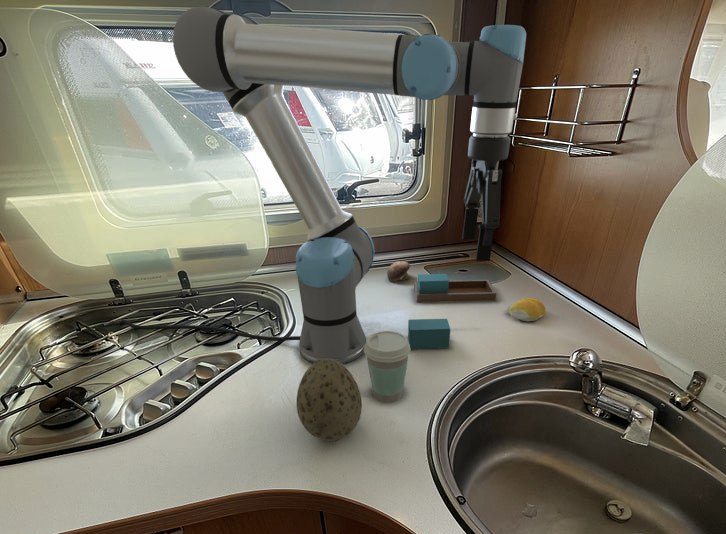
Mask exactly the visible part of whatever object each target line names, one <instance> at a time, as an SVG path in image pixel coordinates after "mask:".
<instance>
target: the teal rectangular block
mask: <svg viewBox="0 0 726 534" xmlns="http://www.w3.org/2000/svg"><path fill="white" fill-rule="evenodd" d="M407 322H408V323H407V325H408V326H407V327H408V328H407V340H408V343H409V344H410V349H411V350H425V349H427V350H428V349H431V350H432V349H449V348H450V338H451V326H450V324H449V319H448V318H420V319H417V318H416V319H408V321H407Z"/></svg>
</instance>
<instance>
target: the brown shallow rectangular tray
mask: <svg viewBox="0 0 726 534" xmlns="http://www.w3.org/2000/svg"><path fill="white" fill-rule="evenodd" d="M413 290H414V291H413V292H414V295H415V300H416V303H443V302H444V303H445V302H446V303H447V302H483V301H484V302H486V301H487V302H489V301H496V298H497V292H496V289H494V287H493V284H492V283H491V282H490V280H489V279H462V280H461V279H459V280H456V279H455V280H449V286H448V293H444V294H420V293H419V289H418V280H417V281H416V280H415V281H413Z"/></svg>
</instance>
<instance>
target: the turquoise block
mask: <svg viewBox="0 0 726 534" xmlns="http://www.w3.org/2000/svg"><path fill="white" fill-rule="evenodd" d="M417 281H418V289H419V293H420V294H444V293H448V286H449V281H450V280H449V277H448V274H447V273H421V274H419V273H418V274H417Z"/></svg>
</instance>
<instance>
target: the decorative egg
mask: <svg viewBox="0 0 726 534" xmlns="http://www.w3.org/2000/svg"><path fill="white" fill-rule="evenodd" d="M361 394H362V393H361V391H360V387H359V385H358V383H357V381H356V379H355V378H354V376H353V374H352V373H351V371H350V370H349V369H348V368H347V367H346V366H345V365H344V364H341V363H339V362H338V361H336V360H333V359H329V358H325V359H321V360H318V361H316V362H315V363H312V364H311V365H310V366H309V367H308V369H307V370H306V371H305V373H304V374H303V376H302V377H301V380H300V382H299V385H298V388H297V393H296V402H295V403H296V413H297V416H298V419H299V422H300V423H301V425H302V427H303V428H304V429H305V431H306V432H307V433H309V434H310V435H311V436H313V437H314V438H316V439H318V440H322V441H326V442H327V441H328V442H334V441H338V440H341V439H343V438H345V437H348V435H350V434H351V433H352V432H353V431H354V429H355V428H356V427H357V426H358V424H359V422H360V419H361V415H362V410H363V408H362V407H363V402H362V401H363V400H362V395H361Z"/></svg>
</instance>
